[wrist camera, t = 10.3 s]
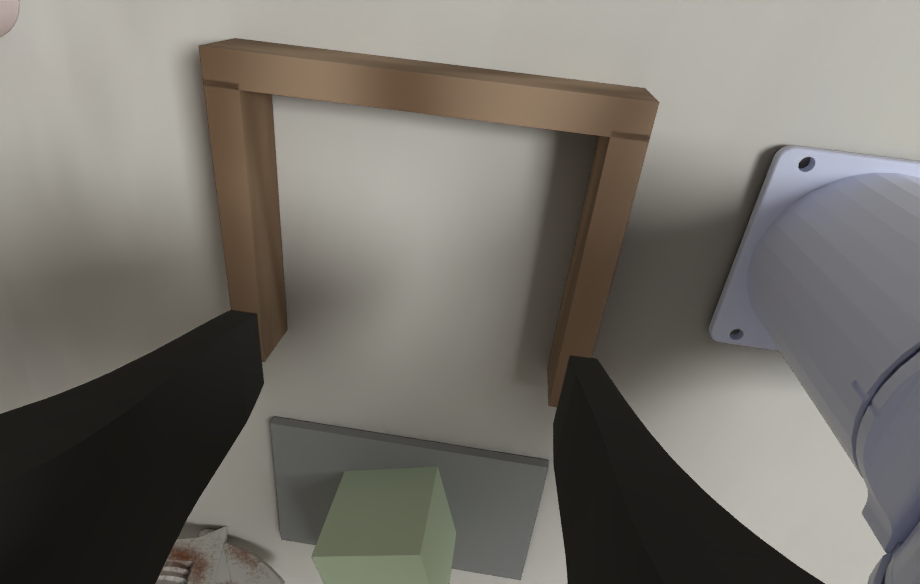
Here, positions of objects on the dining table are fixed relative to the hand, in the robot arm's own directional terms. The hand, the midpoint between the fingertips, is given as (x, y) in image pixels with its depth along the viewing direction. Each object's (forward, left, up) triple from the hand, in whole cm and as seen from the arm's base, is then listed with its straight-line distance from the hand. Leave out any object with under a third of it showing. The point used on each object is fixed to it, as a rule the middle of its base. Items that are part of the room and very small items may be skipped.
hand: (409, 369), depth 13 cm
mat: (+1, +17, -10) cm, 20 cm away
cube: (+1, +17, -10) cm, 19 cm away
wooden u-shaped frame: (+1, +1, -10) cm, 11 cm away
